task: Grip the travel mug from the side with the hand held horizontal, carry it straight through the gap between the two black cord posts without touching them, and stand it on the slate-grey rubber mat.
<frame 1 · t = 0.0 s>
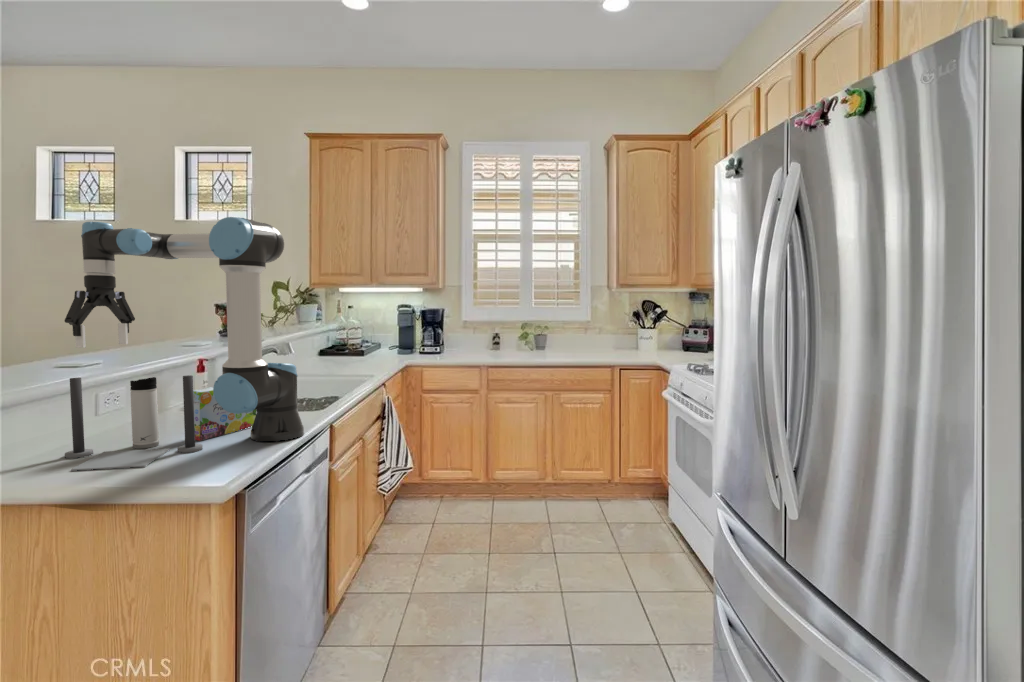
hand: (103, 345, 162), 28 cm above the countertop, tool pointing down, fingers open, 13 cm apart
mat: (123, 460, 141), on the countertop
snack box: (224, 433, 171), on the countertop
cord post 1: (79, 455, 145), on the countertop
cord post 2: (190, 450, 151), on the countertop
travel mug: (146, 446, 155), on the countertop
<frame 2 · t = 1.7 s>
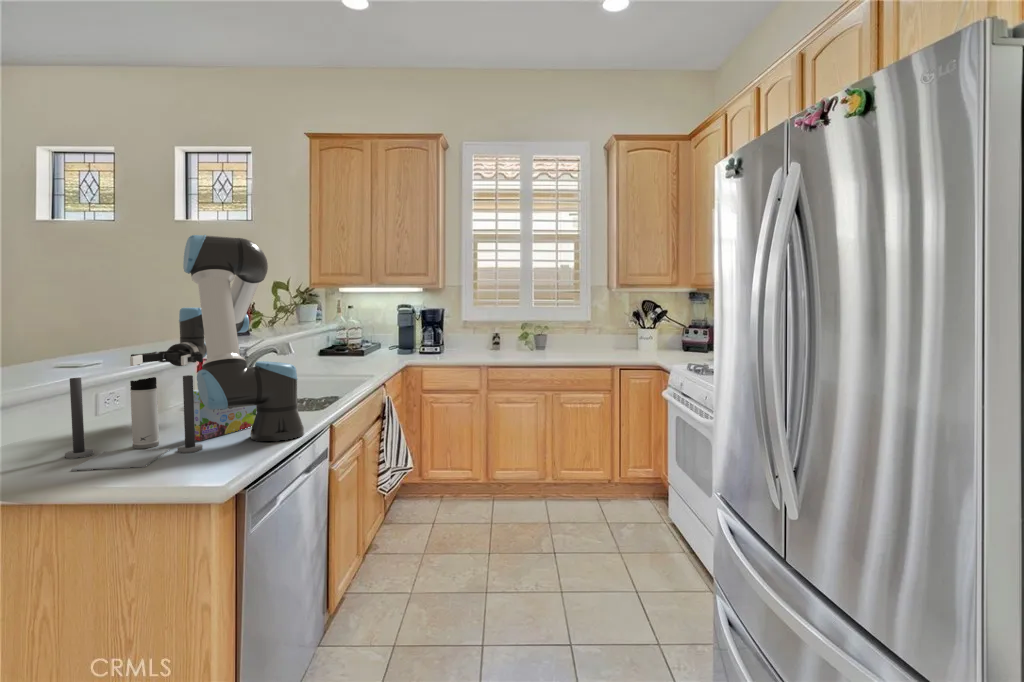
hand: (157, 361, 162), 24 cm above the countertop, tool horizontal, fingers open, 13 cm apart
nothing on the countertop moved.
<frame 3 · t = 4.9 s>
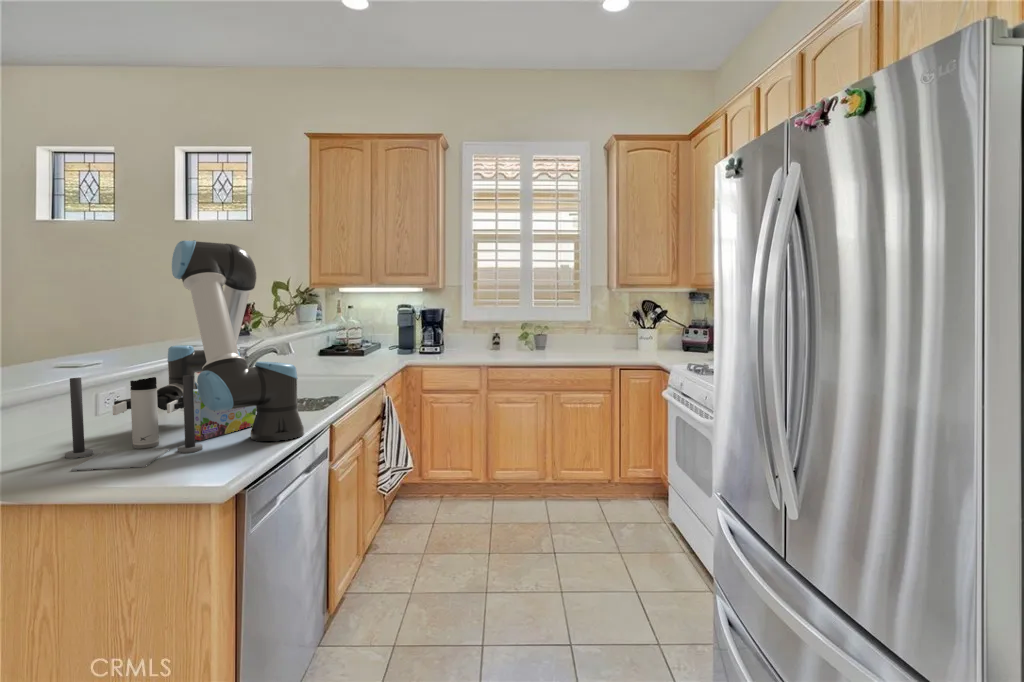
hand: (141, 409, 152), 11 cm above the countertop, tool horizontal, fingers open, 13 cm apart
nothing on the countertop moved.
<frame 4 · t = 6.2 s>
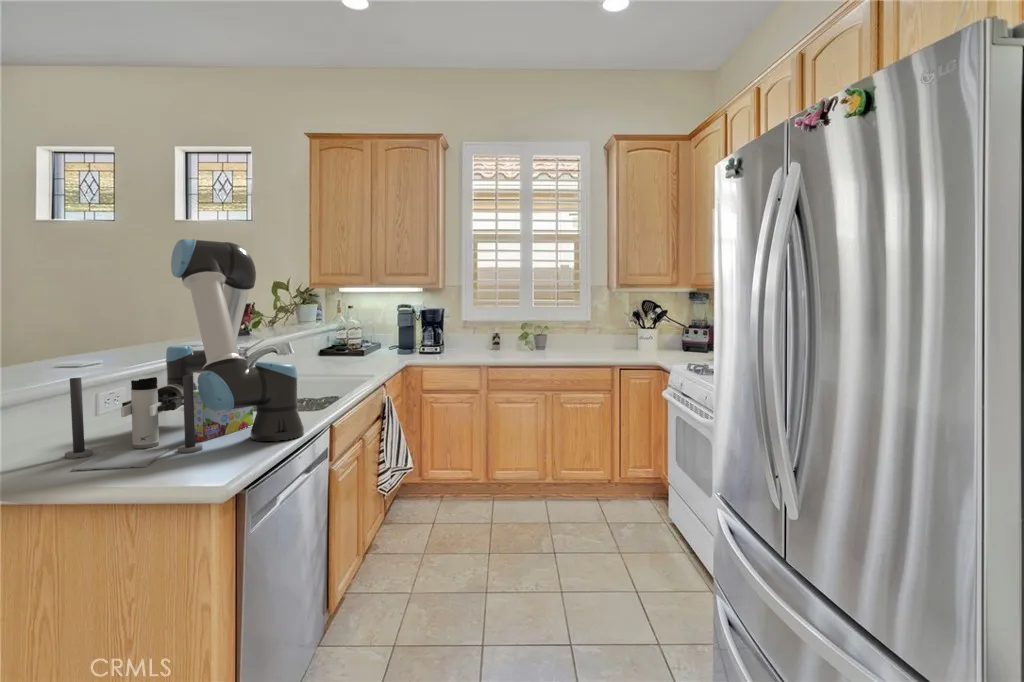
hand: (137, 411, 149), 11 cm above the countertop, tool horizontal, fingers closed on travel mug, 6 cm apart
travel mug: (146, 446, 155), on the countertop, touching gripper
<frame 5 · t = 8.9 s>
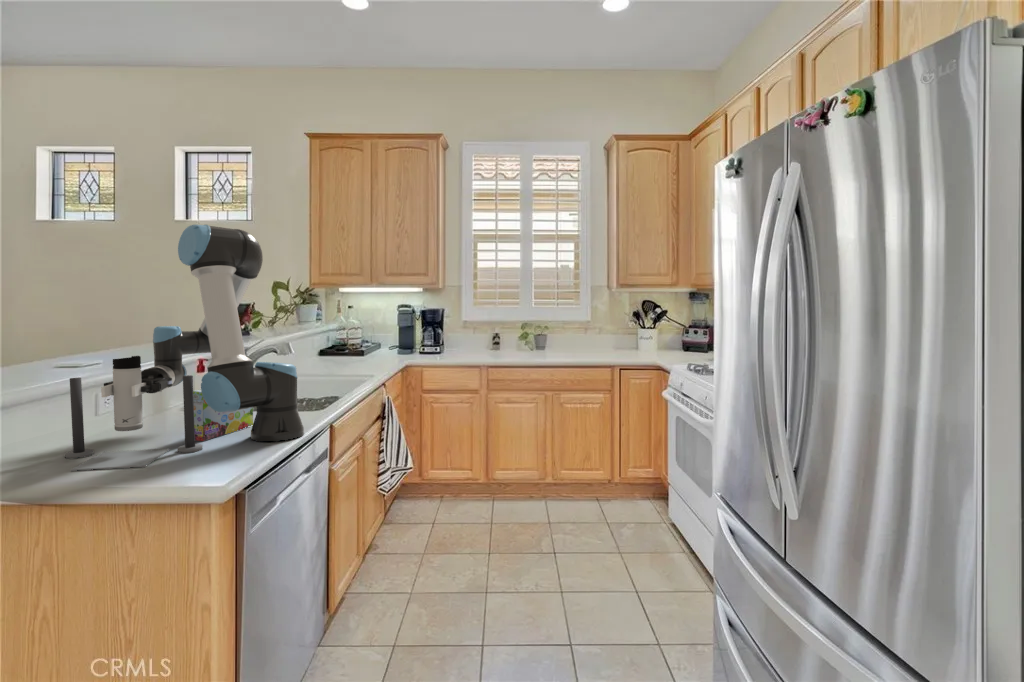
hand: (118, 391, 140), 18 cm above the countertop, tool horizontal, fingers closed on travel mug, 6 cm apart
travel mug: (129, 429, 146), point 7 cm above the countertop, touching gripper
everything else where it was.
when the fingers open (13 cm above the countertop, at t = 11.6 s): travel mug drops 1 cm, resting on mat.
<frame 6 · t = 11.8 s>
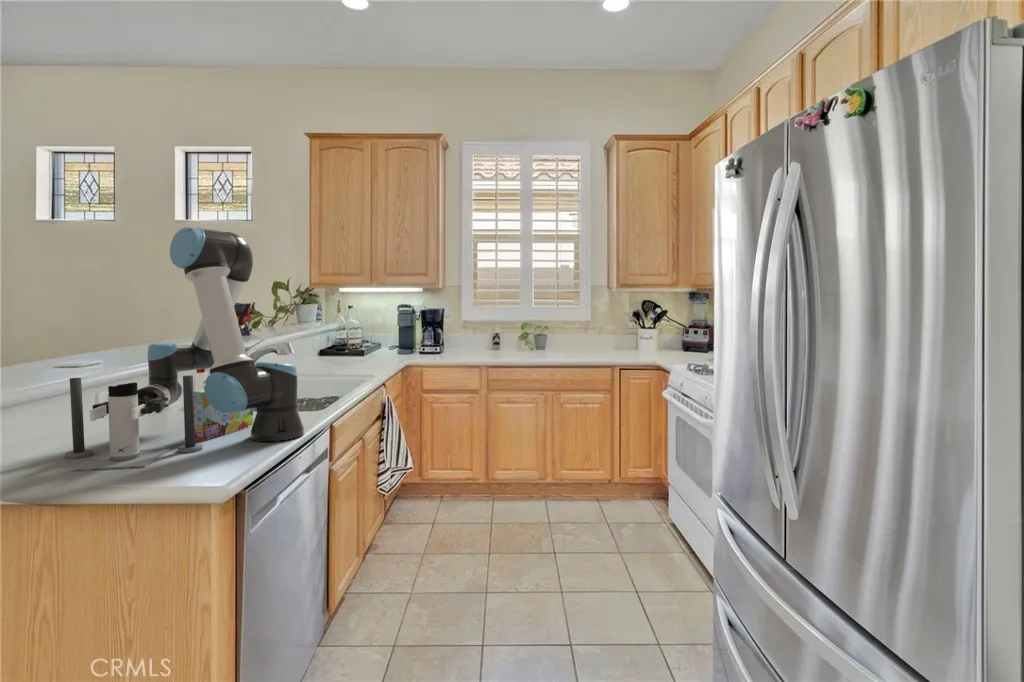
hand: (112, 414, 136), 13 cm above the countertop, tool horizontal, fingers open, 8 cm apart
travel mug: (125, 458, 141), resting on mat
everything else where it was.
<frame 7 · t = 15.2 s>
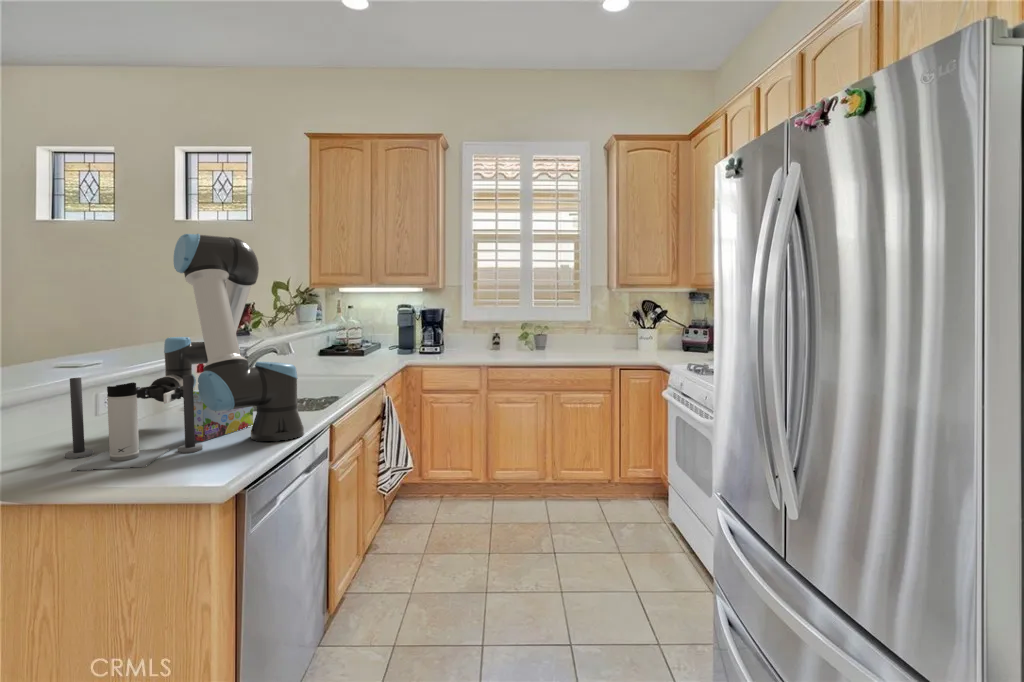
hand: (137, 399, 150), 14 cm above the countertop, tool horizontal, fingers open, 13 cm apart
nothing on the countertop moved.
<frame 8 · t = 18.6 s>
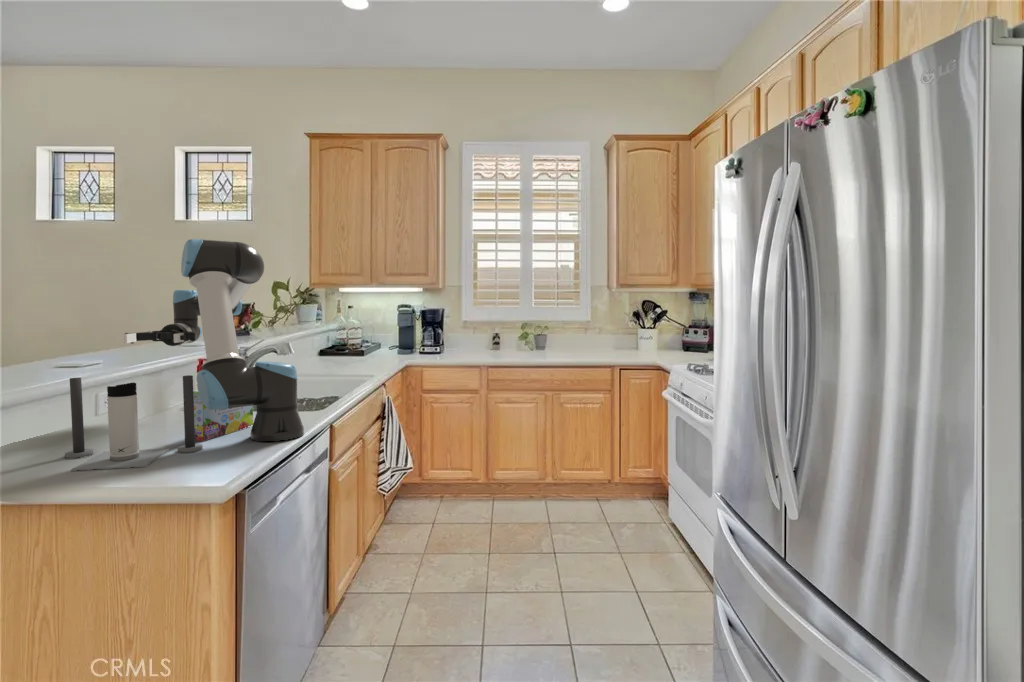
hand: (150, 338, 166), 30 cm above the countertop, tool horizontal, fingers open, 13 cm apart
nothing on the countertop moved.
at the end: travel mug inside the target area on the mat (0.4 cm from its centre), point 0.3 cm above the mat's base; cord post 1 moved 0.0 cm from its start; cord post 2 moved 0.0 cm from its start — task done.
